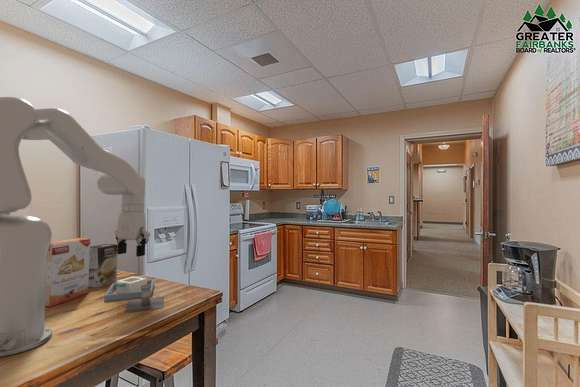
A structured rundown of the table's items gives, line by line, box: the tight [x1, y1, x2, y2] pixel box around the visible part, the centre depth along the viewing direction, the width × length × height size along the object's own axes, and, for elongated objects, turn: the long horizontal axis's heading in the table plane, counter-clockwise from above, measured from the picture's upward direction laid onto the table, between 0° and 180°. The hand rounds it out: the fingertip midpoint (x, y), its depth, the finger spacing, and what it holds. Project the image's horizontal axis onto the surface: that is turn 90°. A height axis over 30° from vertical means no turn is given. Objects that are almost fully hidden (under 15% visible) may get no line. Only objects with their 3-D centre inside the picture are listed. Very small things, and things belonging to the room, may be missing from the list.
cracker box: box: [45, 237, 91, 308], centre depth 98 cm, size 14×6×21 cm, turn 168°
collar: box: [115, 276, 148, 294], centre depth 103 cm, size 9×7×5 cm
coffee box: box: [88, 243, 119, 289], centre depth 116 cm, size 9×6×16 cm
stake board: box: [123, 285, 165, 314], centre depth 92 cm, size 11×11×7 cm
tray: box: [103, 279, 155, 303], centre depth 104 cm, size 14×14×3 cm
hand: (131, 254), depth 103 cm, fingers open, 9 cm apart
